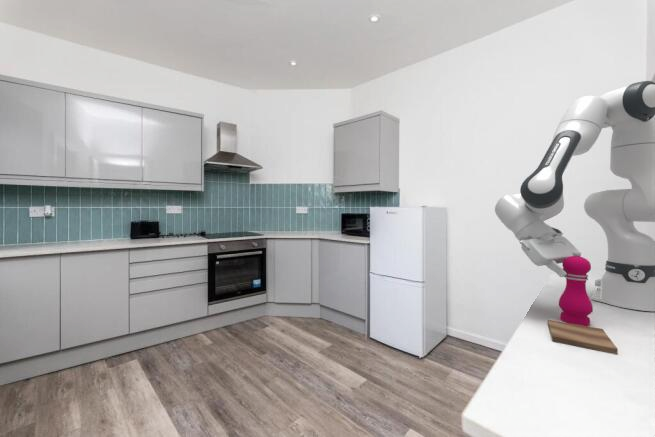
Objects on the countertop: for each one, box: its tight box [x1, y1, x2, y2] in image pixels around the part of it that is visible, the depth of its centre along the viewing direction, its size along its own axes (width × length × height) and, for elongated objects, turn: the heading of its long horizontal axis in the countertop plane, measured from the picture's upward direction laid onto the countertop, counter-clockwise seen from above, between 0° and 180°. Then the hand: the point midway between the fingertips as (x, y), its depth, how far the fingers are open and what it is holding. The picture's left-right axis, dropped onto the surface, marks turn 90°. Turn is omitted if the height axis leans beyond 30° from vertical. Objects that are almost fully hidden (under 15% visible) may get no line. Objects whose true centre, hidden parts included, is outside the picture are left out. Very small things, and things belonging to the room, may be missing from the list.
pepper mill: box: [558, 250, 594, 327], centre depth 80 cm, size 7×7×20 cm
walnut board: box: [547, 319, 618, 355], centre depth 70 cm, size 13×11×1 cm
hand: (573, 274), depth 80 cm, fingers open, 8 cm apart
